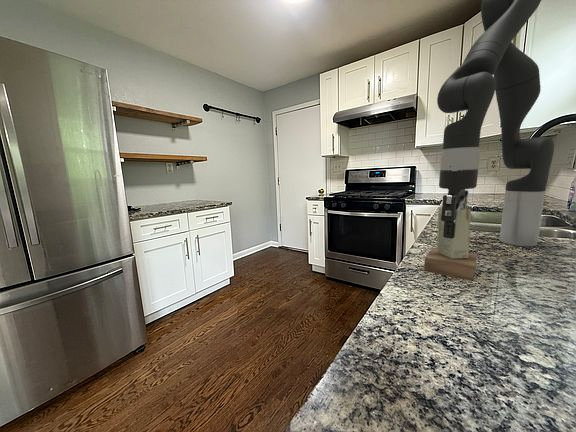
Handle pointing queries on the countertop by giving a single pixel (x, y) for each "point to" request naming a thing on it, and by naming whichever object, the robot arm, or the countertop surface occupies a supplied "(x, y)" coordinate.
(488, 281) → the countertop surface
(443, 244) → the skincare box
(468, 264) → the walnut block
